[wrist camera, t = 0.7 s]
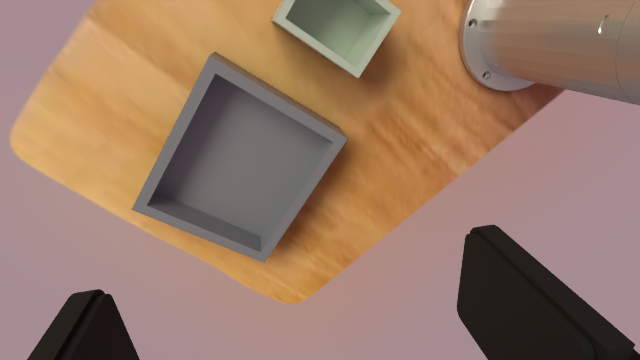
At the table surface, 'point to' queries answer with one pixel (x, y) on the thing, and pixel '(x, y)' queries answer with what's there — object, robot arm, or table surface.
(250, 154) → the big crate
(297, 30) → the small crate
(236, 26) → the table surface
